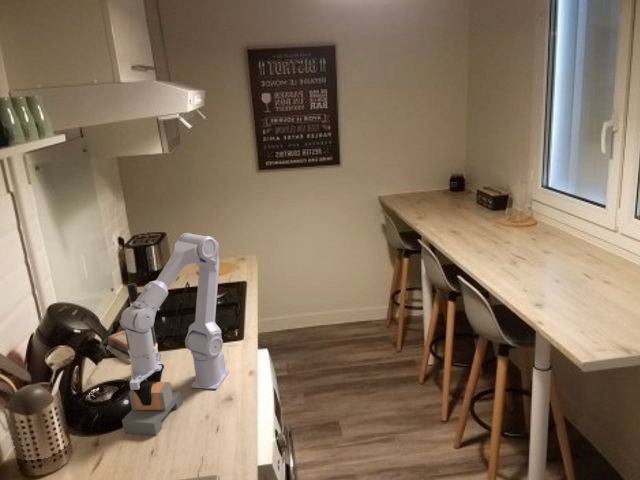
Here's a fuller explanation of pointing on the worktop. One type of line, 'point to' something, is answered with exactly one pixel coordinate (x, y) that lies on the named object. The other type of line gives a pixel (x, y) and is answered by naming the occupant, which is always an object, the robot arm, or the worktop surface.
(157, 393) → the block
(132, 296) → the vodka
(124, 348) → the packaged product
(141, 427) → the stand
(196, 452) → the worktop surface
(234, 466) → the worktop surface
